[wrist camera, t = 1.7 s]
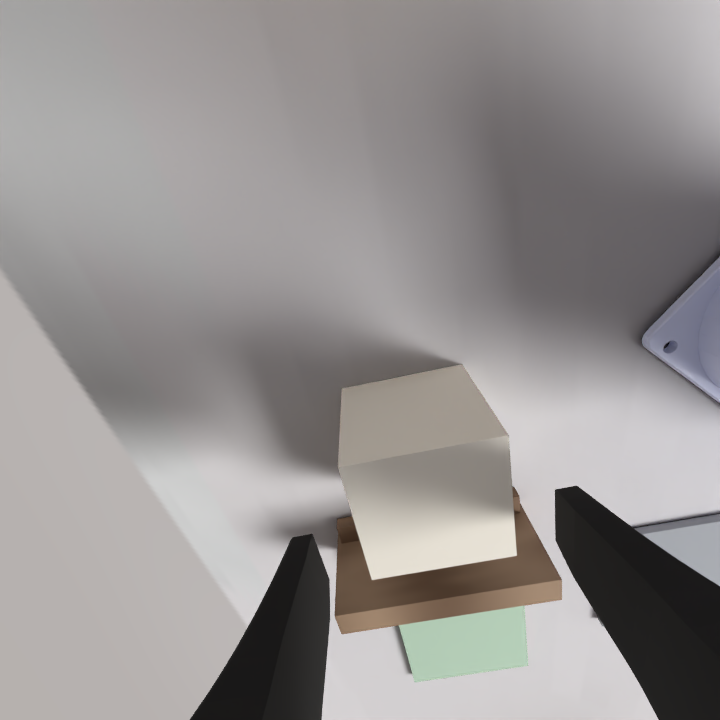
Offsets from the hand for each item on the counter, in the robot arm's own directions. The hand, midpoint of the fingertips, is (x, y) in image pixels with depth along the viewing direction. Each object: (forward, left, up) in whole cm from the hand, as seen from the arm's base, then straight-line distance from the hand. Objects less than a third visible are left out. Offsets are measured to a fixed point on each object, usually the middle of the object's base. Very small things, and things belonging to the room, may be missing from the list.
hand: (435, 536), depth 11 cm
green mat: (-11, +10, -6) cm, 16 cm away
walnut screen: (-4, +4, -6) cm, 8 cm away
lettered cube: (0, 0, -6) cm, 6 cm away
